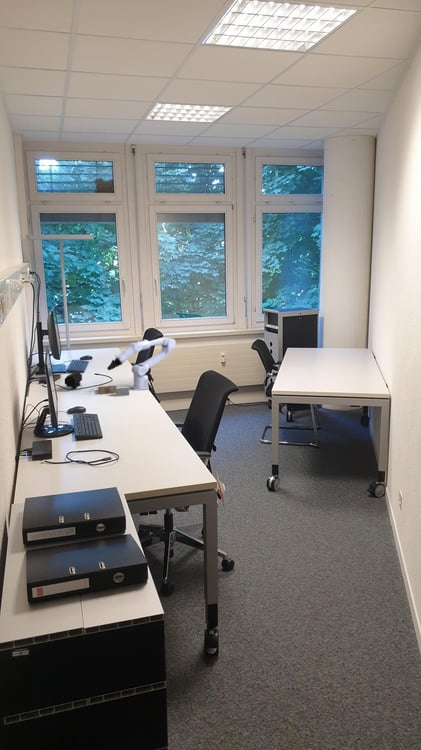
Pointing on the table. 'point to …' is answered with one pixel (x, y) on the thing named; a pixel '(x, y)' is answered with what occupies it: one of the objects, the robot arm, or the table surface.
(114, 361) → the robot arm
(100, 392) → the stand
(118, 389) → the housing
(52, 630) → the table surface
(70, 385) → the security camera
